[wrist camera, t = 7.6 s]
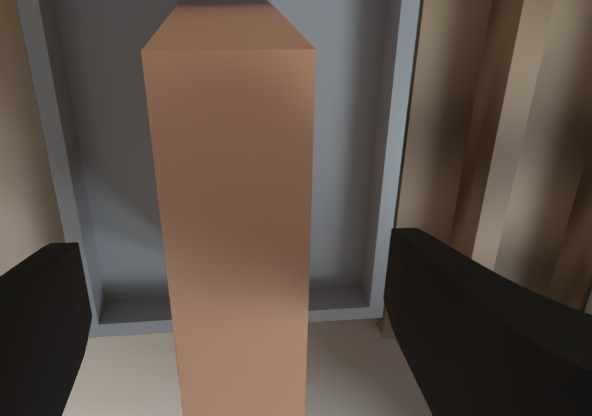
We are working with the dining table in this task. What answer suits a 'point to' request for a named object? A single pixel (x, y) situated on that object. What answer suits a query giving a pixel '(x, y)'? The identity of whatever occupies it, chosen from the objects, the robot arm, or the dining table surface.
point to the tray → (139, 155)
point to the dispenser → (503, 141)
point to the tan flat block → (234, 202)
